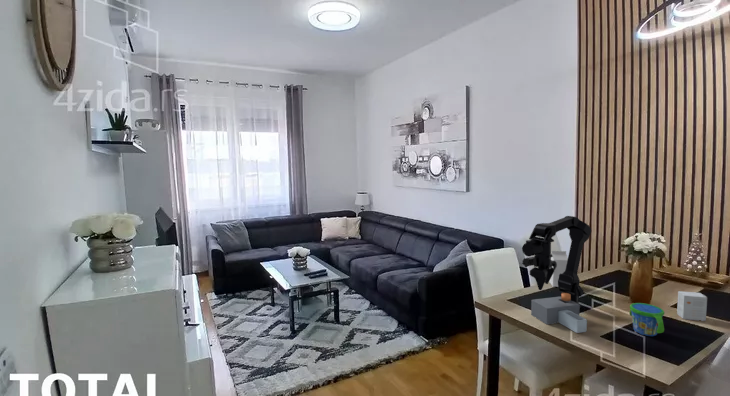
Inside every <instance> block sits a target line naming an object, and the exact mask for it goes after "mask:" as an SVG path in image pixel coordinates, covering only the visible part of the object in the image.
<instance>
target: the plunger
mask: <svg viewBox="0 0 730 396" xmlns="http://www.w3.org/2000/svg"><path fill="white" fill-rule="evenodd" d="M560 295H561V299H562V300H564V301H565V302H568V301H570V300H571V294H569V293H563V292H561V294H560Z"/></svg>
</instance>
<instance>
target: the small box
mask: <svg viewBox="0 0 730 396" xmlns="http://www.w3.org/2000/svg"><path fill="white" fill-rule="evenodd" d="M676 306H677V308H676V309H677V310H676V314H677V316H678V317H681V318H682V320H691V321H699V320H701V322H707V321H706V320H707V308H708V307H707V306H708V296H706V295H705V294H702V293H701V292H694V291H679V290H678V291H677V305H676Z"/></svg>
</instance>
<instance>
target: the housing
mask: <svg viewBox="0 0 730 396" xmlns="http://www.w3.org/2000/svg"><path fill="white" fill-rule="evenodd" d="M530 304H531V305H530V306H531V309H530V310H531V311H530V315H531V316H532V317H534V318H535V317H536V318H535V319H537V320H539V321H540V322H542V323H543V324H544V325H554V323H555V324H558V323H559V322H558V310H565V309H567V310H569V311H571V312H573V313H575V314H577V315H579V316H580V306H581V305H580V303H579V304H578V303H576V302H573V301H571V300H570V301H568V302H565V301H564V300H562V299H561V296H560V295H559V296H553V297H545V298H535V299H531V303H530Z"/></svg>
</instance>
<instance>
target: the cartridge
mask: <svg viewBox="0 0 730 396" xmlns="http://www.w3.org/2000/svg"><path fill="white" fill-rule="evenodd" d="M558 323H559V324H561V325H562V326H564V327H566V328H568V329H569V330H571V331H573V332H575V333H576V334H578V333H586V332H587V329H588V328H587V327H588V320H587V319H586V317H583V316H581V315H580V314H579V315H577V314H575V313H573V312H571V311H569V310H567V309H565V310H558Z"/></svg>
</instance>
